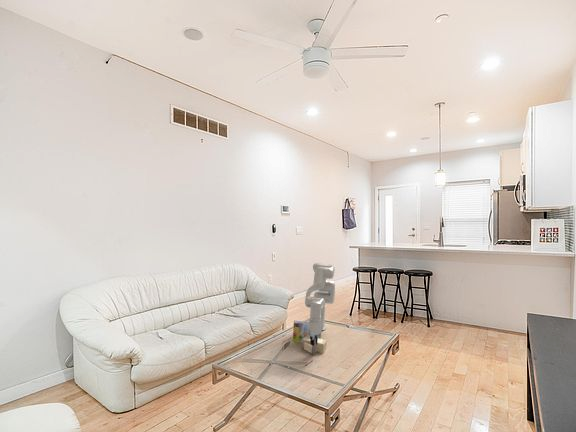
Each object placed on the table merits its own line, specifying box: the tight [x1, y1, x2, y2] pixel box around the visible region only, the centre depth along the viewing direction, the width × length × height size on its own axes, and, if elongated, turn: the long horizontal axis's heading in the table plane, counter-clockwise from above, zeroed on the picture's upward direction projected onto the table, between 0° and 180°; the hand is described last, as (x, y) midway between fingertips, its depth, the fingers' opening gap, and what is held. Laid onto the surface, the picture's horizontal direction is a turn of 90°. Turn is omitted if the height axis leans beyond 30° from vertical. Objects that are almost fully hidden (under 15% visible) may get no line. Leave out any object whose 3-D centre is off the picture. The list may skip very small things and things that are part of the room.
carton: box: [301, 336, 328, 354], centre depth 231 cm, size 8×16×7 cm, turn 67°
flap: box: [301, 337, 316, 356], centre depth 225 cm, size 12×3×12 cm, turn 46°
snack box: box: [292, 320, 322, 343], centre depth 242 cm, size 21×6×15 cm, turn 84°
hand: (313, 344), depth 222 cm, fingers closed on flap, 2 cm apart
